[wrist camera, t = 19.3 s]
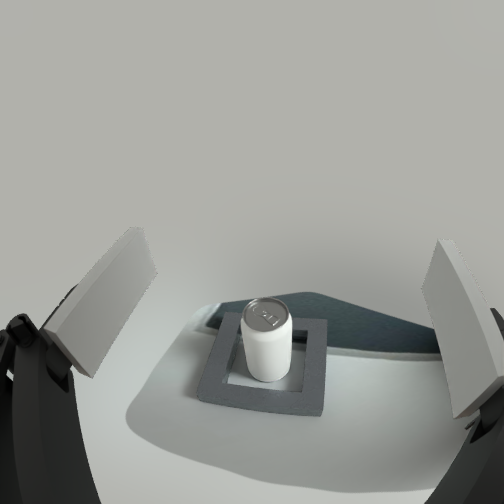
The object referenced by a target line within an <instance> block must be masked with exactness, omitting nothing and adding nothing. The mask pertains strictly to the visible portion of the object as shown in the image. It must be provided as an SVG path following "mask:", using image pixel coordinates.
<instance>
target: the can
mask: <svg viewBox="0 0 504 504" xmlns="http://www.w3.org/2000/svg"><path fill="white" fill-rule="evenodd" d="M241 331H242V338H243V343H244V349H245V355H246V360H247V366H248V369H249V372H250V373H251V375H252V376H253V377H254V378H256V379H258V380H260V381H264V382H273V381H277V380H279V379H281V378H283V377H284V376H285V375H286V374H287V373H288V371H289V369H290V363H291V345H292V318H291V315H290V313H289V310H288V307H287V306H286V305H285V304H284V303H283V302H282V301H280V300H278V299H276V298H271V297H263V298H258V299H255V300H253V301H251V302H250V303H249V304H247V305H246V307H245V308H244V310H243V316H242V319H241Z"/></svg>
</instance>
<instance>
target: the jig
mask: <svg viewBox="0 0 504 504" xmlns="http://www.w3.org/2000/svg"><path fill="white" fill-rule="evenodd" d="M242 316H243V313H233V312H225V314H224V317H223V320H222V323H221V326H220V328H219V331H218V334H217V337H216V339H215V342H214V345H213V348H212V350H211V353H210V356H209V359H208V362H207V364H206V367H205V370H204V373H203V376H202V378H201V381H200V384H199V387H198V390H197V392H196V394H197V396H198V398H199V400H200V401H203V402H208V403H213V404H218V405H223V406H229V407H235V408H241V409H247V410H254V411H262V412H270V413H279V414H290V415H303V416H321V414H322V411H323V404H324V390H325V373H326V350H327V319H308V318H292V317H291V318H292V339H301V340H307V346H306V357H305V367H304V376H303V385H302V392H292V391H281V390H271V389H262V388H254V387H247V386H240V385H233V384H227V380H228V377H229V373H230V370H231V367H232V363H233V360H234V356H235V353H236V350H237V346H238V343H239V339H240V336H241V334H242V331H241V319H242Z"/></svg>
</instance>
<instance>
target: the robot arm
mask: <svg viewBox="0 0 504 504" xmlns="http://www.w3.org/2000/svg"><path fill="white" fill-rule="evenodd" d="M157 274H158V273H157V270H156V268H155V264H154V261H153V258H152V256H151V253H150V250H149V246H148V243H147V240H146V237H145V233H144V230H143V228H141V227H140V228H138V227H130V228H129V229H128V230H127V231H126V232H125V233H124V234H123V235H122V236H121V237H120V238H119V239H118V240H117V242H116V243H115V244H114V245H113V246H112V247H111V248H110V249H109V250H108V251H107V252H106V253H105V254H104V255H103V257H102V258H101V259H100V260H99V261H98V262H97V263H96V264H95V265H94V266H93V268H92V269H91V270H90V271H89V272H88V273H87V275H86V276H85V277H84V278H83V279H82V280H81V281H80V283H79V284H77V285H76V286H75V287H73V288H72V289H71V290H70V291H69V292H68V294H67V295H66V296H65V299H63V300H62V301H61V302H60V304H59V306H57V307H56V308H55V310H54V311H53V312H52V314H51V315H50V316H49V317H48V319H47V320H46V321H45V323H44V324H43V325H42V327H41V328H40V329H39V330H38V329H37V328H36V327H35V325H34V324H33V323H32V321H31V320H30V319H29V317H28V316H27V314H19V315H17V316H15V317H14V318H13V319H12V320H11V321H10V322H9V324H8V325H7V327H6V330H4V329H3V330H1V331H0V504H101V502H100V499H99V496H98V493H97V490H96V487H95V484H94V481H93V477H92V474H91V471H90V467H89V463H88V459H87V455H86V451H85V447H84V442H83V438H82V433H81V428H80V422H79V417H78V410H77V403H76V396H75V388H74V379H73V373H72V371H71V370H70V368H71V366H72V365H73V366H74V367H75V368H76V369H77V370H78V372H79V373H81V374H83V375H86V376H88V377H90V378H93V377H94V375H95V373H96V371H97V370H98V368H99V366H100V364H101V363H102V361H103V359H104V357H105V356H106V354H107V352H108V351H109V349H110V347H111V345H112V344H113V342H114V341H115V339H116V337H117V336H118V334H119V332H120V331H121V329H122V328H123V326H124V324H125V323H126V321H127V320H128V318H129V316H130V315H131V313H132V312H133V310H134V309H135V307H136V305H137V304H138V302H139V301H140V299H141V298H142V296H143V295H144V293H145V292H146V290H147V289H148V287H149V286H150V284H151V282H152V281H153V280H154V278H155V277H156V275H157ZM421 289H422V292H423V295H424V298H425V301H426V304H427V307H428V310H429V313H430V316H431V319H432V323H433V326H434V330H435V333H436V337H437V340H438V344H439V348H440V352H441V356H442V360H443V364H444V369H445V373H446V378H447V383H448V388H449V393H450V399H451V405H452V412H453V419H457V418H462V417H466V416H470V415H471V414H473V413H474V412H475V411H476V410H477V409H478V408H479V409H480V415H479V416H478V417H477V418H475V419H474V420H473V421H472V422H470V423H469V424H468V425H467V426H466V428H465V429H466V430H467V429H469V428H470V427H471V426H473V427H472V429H471V431H470V433H469V435H468V437H467V439H466V440H465V442H464V444H463V446H462V448H461V450H460V451H459V453H458V455H457V456H456V458H455V460H454V461H453V463H452V465H451V466H450V468H449V470H448V471H447V473H446V474H445V476H444V477H443V479H442V480H441V482H440V483H439V484H438V486H437V487H436V489H435V490H434V492H433V493H432V494H431V496H430V497H429V498H428V500H427V501H426V502H425V503H424V504H504V320H503V318H502V317H501V315H500V314H499V313H498V312H497V311H496V309H495V308H489V305H488V303H487V301H486V299H485V297H484V295H483V293H482V291H481V290H480V287H479V285H478V284H477V282H476V280H475V278H474V276H473V274H472V273H471V271H470V269H469V267H468V266H467V264H466V262H465V260H464V259H463V257H462V255H461V254H460V252H459V250H458V249H457V247H456V246H455V244H454V242H453V241H452V240H443V239H438V240H437V244H436V247H435V250H434V254H433V257H432V260H431V263H430V266H429V269H428V272H427V275H426V278H425V281H424V283H423V286H422V288H421ZM7 370H9V371H10V372H11V373H12V374H13V375H14V377H13V381H12V380H11V379H10V378H9V377H8V376H7V375H6V374H7Z"/></svg>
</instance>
